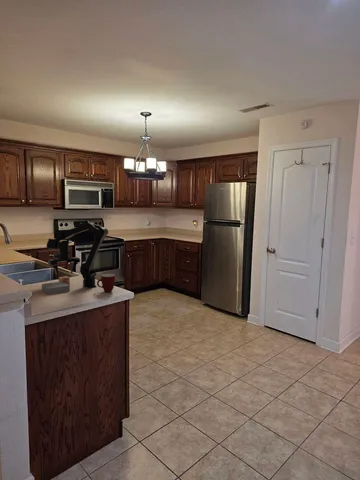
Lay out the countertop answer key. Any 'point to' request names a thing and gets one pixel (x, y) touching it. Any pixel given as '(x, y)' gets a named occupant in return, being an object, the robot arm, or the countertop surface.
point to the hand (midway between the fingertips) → (64, 274)
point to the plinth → (55, 287)
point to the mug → (107, 282)
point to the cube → (65, 280)
